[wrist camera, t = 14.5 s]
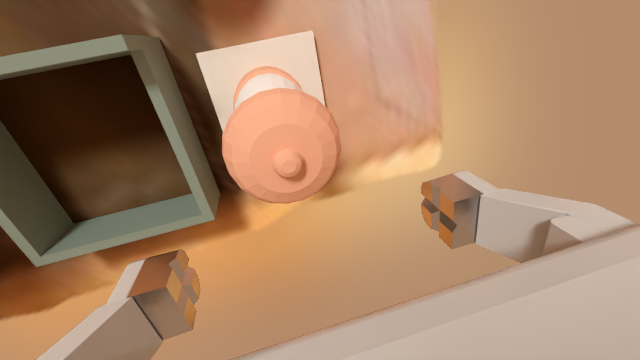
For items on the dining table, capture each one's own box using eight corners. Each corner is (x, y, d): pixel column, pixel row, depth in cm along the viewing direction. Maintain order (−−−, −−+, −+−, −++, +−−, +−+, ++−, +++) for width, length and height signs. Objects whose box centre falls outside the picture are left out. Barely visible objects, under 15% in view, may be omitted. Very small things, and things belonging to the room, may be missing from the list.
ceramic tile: (234, 159, 34) (233, 162, 34) (197, 53, 29) (195, 53, 28) (328, 136, 36) (330, 138, 35) (310, 30, 30) (312, 30, 29)
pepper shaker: (313, 91, 32) (383, 144, 15) (279, 144, 34) (307, 244, 17) (256, 50, 29) (263, 59, 12) (222, 110, 31) (186, 191, 14)
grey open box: (69, 232, 34) (14, 289, 26) (-46, 75, 26) (-178, 90, 18) (220, 193, 36) (211, 236, 28) (158, 37, 28) (121, 34, 20)
